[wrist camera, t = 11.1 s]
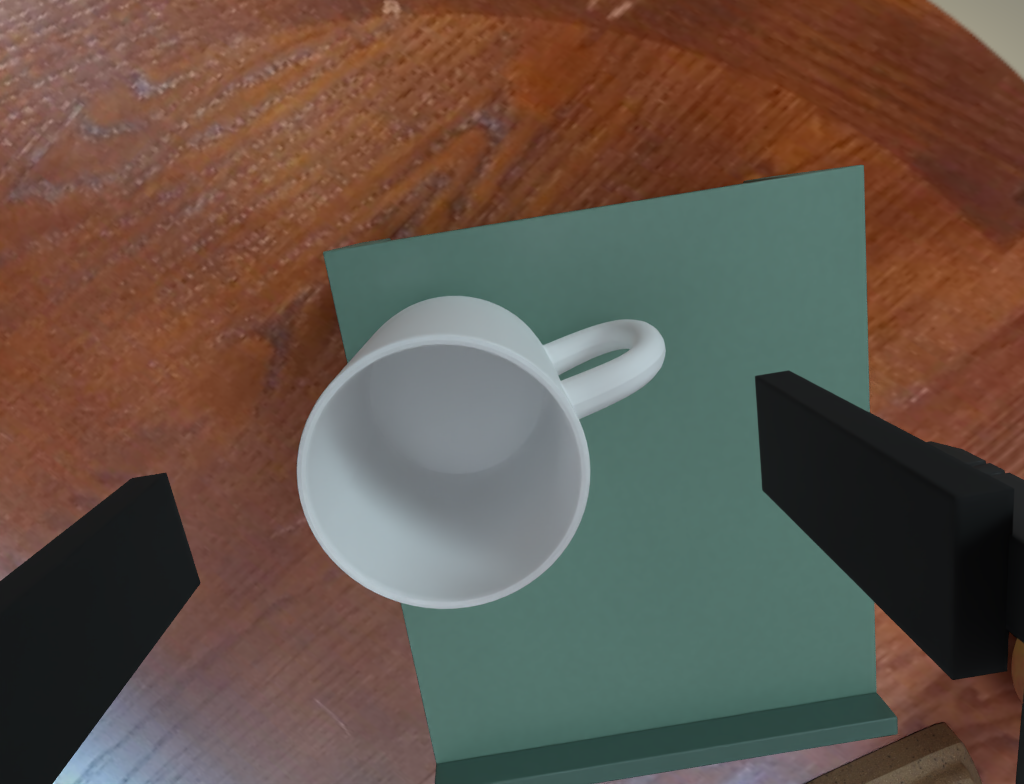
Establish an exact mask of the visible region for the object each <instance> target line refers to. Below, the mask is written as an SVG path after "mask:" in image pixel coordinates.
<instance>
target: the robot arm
mask: <svg viewBox="0 0 1024 784" xmlns="http://www.w3.org/2000/svg"><path fill="white" fill-rule="evenodd" d="M755 387H756V402H757V417H758V433H759V448H760V463H761V479H762V491H763V492H764V493H766V494H767V495H768V496H769V497H770V498H771V499H772V500H773V501H774V502H775V503H776V504H777V505H778V506H779V507H780V508H781V509H782V510H783V511H784V512H785V513H786V514H787V515H788V516H789V517H790V518H791V519H792V520H793V521H794V522H795V523H796V524H797V525H798V526H799V527H800V528H801V529H802V530H803V531H804V532H805V533H806V534H807V535H808V536H809V537H810V538H811V539H812V540H813V541H814V542H815V543H816V544H817V545H818V546H819V547H820V548H821V549H822V550H823V551H824V552H825V553H826V554H827V555H828V556H829V557H830V558H831V559H832V560H833V561H834V562H835V563H836V564H837V565H838V566H839V567H840V568H841V569H842V570H843V571H844V572H845V573H846V574H847V575H848V576H849V577H850V578H851V579H852V580H853V581H854V582H855V583H856V584H857V585H858V586H859V587H860V588H861V589H862V590H863V591H864V592H865V593H866V594H867V595H868V596H869V597H870V598H871V599H872V600H873V601H874V602H875V603H876V604H877V605H878V606H879V607H880V608H881V609H882V610H883V611H884V612H885V613H886V614H887V615H888V616H889V617H890V618H891V619H892V620H893V621H894V622H895V623H896V624H897V625H898V626H899V627H900V628H901V629H902V630H903V631H904V632H905V633H906V634H907V635H908V636H909V637H910V638H911V639H912V640H913V641H914V642H915V643H916V644H917V645H918V646H919V647H920V648H921V649H922V650H923V651H924V652H925V653H926V654H927V655H928V656H929V657H930V658H931V659H932V660H933V661H934V662H935V663H936V664H937V665H938V666H939V667H940V668H941V669H942V670H943V671H944V672H945V673H946V674H947V675H948V676H949V677H950V678H951V679H952V680H956V679H962V678H968V677H974V676H980V675H986V674H992V673H998V672H1004V671H1007V663H1008V638H1009V632H1010V633H1011V634H1013V635H1014V636H1015V637H1016V638H1018V639H1019V640H1020V641H1021V642H1023V643H1024V480H1023V479H1021V478H1019V477H1017V476H1015V475H1013V474H1011V473H1006V474H1005V471H1004V470H1003V469H1001V468H999V467H997V466H995V465H993V464H991V463H988V464H986V461H985V460H983V459H981V458H979V457H977V456H975V455H973V454H971V453H969V452H967V451H965V450H963V449H959V448H955V447H951V446H947V445H943V444H939V443H935V442H925V441H923V440H921V439H919V438H917V437H915V436H913V435H911V434H909V433H907V432H906V431H904V430H902V429H900V428H898V427H896V426H894V425H892V424H890V423H888V422H886V421H885V420H883V419H881V418H879V417H877V416H875V415H873V414H871V413H869V412H867V411H866V410H864V409H862V408H860V407H858V406H856V405H854V404H852V403H850V402H848V401H846V400H845V399H843V398H841V397H839V396H837V395H835V394H833V393H831V392H829V391H827V390H826V389H824V388H822V387H820V386H818V385H816V384H814V383H812V382H810V381H808V380H806V379H805V378H803V377H801V376H799V375H797V374H795V373H793V372H791V371H789V370H788V371H782V372H776V373H770V374H763V375H757V376H755ZM199 585H200V580H199V577H198V573H197V570H196V567H195V564H194V561H193V557H192V554H191V551H190V548H189V544H188V541H187V538H186V535H185V532H184V528H183V525H182V522H181V519H180V516H179V512H178V509H177V506H176V503H175V499H174V496H173V493H172V490H171V487H170V483H169V480H168V477H167V474H166V473H161V474H155V475H149V476H143V477H137V478H132V479H130V480H129V481H128V482H126V483H125V484H124V485H123V486H121V487H120V488H119V489H118V490H116V491H115V492H114V493H112V494H111V495H110V496H109V497H107V498H106V499H105V500H103V501H102V502H101V503H100V504H98V505H97V506H96V507H95V508H93V509H92V510H91V511H89V512H88V513H87V514H86V515H84V516H83V517H82V518H80V519H79V520H78V521H77V522H75V523H74V524H73V525H72V526H70V527H69V528H68V529H66V530H65V531H64V532H63V533H61V534H60V535H59V536H57V537H56V538H55V539H54V540H52V541H51V542H50V543H49V544H47V545H46V546H45V547H43V548H42V549H41V550H40V551H38V552H37V553H36V554H34V555H33V556H32V557H31V558H29V559H28V560H27V561H26V562H24V563H23V564H22V565H20V566H19V567H18V568H17V569H15V570H14V571H13V572H11V573H10V574H9V575H8V576H6V577H5V578H4V579H3V580H1V581H0V784H53V782H54V781H55V780H56V778H57V777H58V776H59V774H60V773H61V771H62V770H63V769H64V767H65V766H66V765H67V763H68V762H69V761H70V759H71V758H72V757H73V755H74V754H75V752H76V751H77V750H78V748H79V747H80V746H81V744H82V743H83V742H84V740H85V739H86V738H87V736H88V735H89V734H90V732H91V731H92V729H93V728H94V727H95V725H96V724H97V723H98V721H99V720H100V719H101V717H102V716H103V715H104V713H105V712H106V710H107V709H108V708H109V706H110V705H111V704H112V702H113V701H114V700H115V698H116V697H117V696H118V694H119V693H120V692H121V690H122V689H123V687H124V686H125V685H126V683H127V682H128V681H129V679H130V678H131V677H132V675H133V674H134V673H135V671H136V670H137V669H138V667H139V666H140V664H141V663H142V662H143V660H144V659H145V658H146V656H147V655H148V654H149V652H150V651H151V650H152V648H153V647H154V645H155V644H156V643H157V641H158V640H159V639H160V637H161V636H162V635H163V633H164V632H165V631H166V629H167V628H168V627H169V625H170V624H171V622H172V621H173V620H174V618H175V617H176V616H177V614H178V613H179V612H180V610H181V609H182V608H183V606H184V605H185V603H186V602H187V601H188V599H189V598H190V597H191V595H192V594H193V593H194V591H195V590H196V589H197V587H198V586H199ZM1016 784H1024V693H1023V704H1022V716H1021V727H1020V739H1019V750H1018V762H1017V774H1016Z"/></svg>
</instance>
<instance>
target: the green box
mask: <svg viewBox="0 0 1024 784" xmlns="http://www.w3.org/2000/svg"><path fill="white" fill-rule="evenodd" d="M743 183H744V184H738V185H731V186H725V187H719V188H713V189H707V190H700V191H694V192H688V193H682V194H676V195H669V196H663V197H657V198H651V199H645V200H638V201H632V202H626V203H620V204H614V205H607V206H601V207H595V208H589V209H583V210H576V211H570V212H564V213H558V214H552V215H545V216H539V217H533V218H527V219H521V220H514V221H508V222H502V223H496V224H490V225H483V226H477V227H471V228H465V229H459V230H452V231H446V232H440V233H434V234H428V235H421V236H415V237H409V238H403V239H397V240H391V239H390V238H387V239H381V240H375V241H369V242H363V243H358V244H354V245H350V246H346V247H342V248H337V249H333V250H329V251H325V252H323V255H324V260H325V264H326V269H327V273H328V278H329V282H330V287H331V291H332V296H333V300H334V305H335V309H336V314H337V318H338V323H339V327H340V332H341V336H342V341H343V345H344V350H345V354H346V359H347V363H349V362H350V360H351V359H352V358H353V357H354V356H355V355H356V354H357V353H358V351H359V350H360V349H361V348H362V347H363V346H364V345H365V344H366V342H367V341H368V340H369V339H370V338H371V337H372V336H373V335H374V333H375V332H376V331H377V330H378V329H379V328H380V327H381V326H382V325H383V324H384V323H386V322H387V321H388V320H389V319H390V318H391V317H393V316H394V315H396V314H397V313H399V312H400V311H402V310H404V309H405V308H407V307H409V306H411V305H413V304H416V303H418V302H421V301H424V300H427V299H431V298H436V297H443V296H466V297H473V298H478V299H482V300H486V301H489V302H491V303H494V304H496V305H499V306H501V307H503V308H504V309H506V310H508V311H510V312H511V313H513V314H514V315H516V316H517V317H518V318H519V319H521V320H522V321H523V322H524V323H525V324H526V325H527V326H528V327H529V328H530V329H531V330H532V331H533V333H534V334H535V335H536V336H537V338H538V339H539V340H540V342H541V343H542V345H545V344H547V343H550V342H552V341H555V340H557V339H560V338H562V337H564V336H567V335H569V334H572V333H575V332H577V331H580V330H583V329H586V328H588V327H591V326H595V325H598V324H601V323H605V322H609V321H615V320H622V319H631V320H639V321H644V322H646V323H648V324H650V325H652V326H653V327H655V328H656V329H657V330H658V331H659V333H660V334H661V336H662V337H663V339H664V343H665V349H666V352H665V358H664V362H663V365H662V367H661V368H660V370H659V371H658V372H657V374H656V375H655V376H654V377H653V378H652V379H651V380H650V381H649V382H648V383H647V384H646V385H645V386H643V387H642V388H641V389H639V390H638V391H636V392H634V393H633V394H631V395H629V396H628V397H626V398H624V399H622V400H620V401H618V402H616V403H614V404H612V405H610V406H608V407H606V408H603V409H601V410H599V411H597V412H595V413H593V414H590V415H588V416H586V417H583V418H581V419H579V421H580V423H581V426H582V428H583V431H584V434H585V438H586V441H587V446H588V451H589V457H590V487H589V494H588V499H587V503H586V507H585V511H584V514H583V516H582V519H581V522H580V524H579V526H578V528H577V530H576V532H575V534H574V536H573V538H572V539H571V541H570V543H569V544H568V546H567V547H566V549H565V550H564V551H563V553H562V554H561V555H560V556H559V558H558V559H557V560H556V561H555V562H554V563H553V564H552V565H551V566H550V567H549V568H548V569H547V570H546V571H545V572H544V573H542V574H541V575H540V576H539V577H537V578H536V579H535V580H533V581H532V582H531V583H529V584H528V585H526V586H524V587H523V588H521V589H519V590H518V591H516V592H514V593H512V594H510V595H508V596H505V597H503V598H500V599H498V600H495V601H492V602H488V603H485V604H481V605H476V606H471V607H465V608H456V609H435V608H424V607H418V606H412V605H408V604H404V603H401V606H402V611H403V615H404V620H405V624H406V629H407V633H408V638H409V642H410V647H411V651H412V656H413V660H414V665H415V669H416V674H417V678H418V683H419V687H420V692H421V696H422V701H423V705H424V710H425V714H426V719H427V724H428V728H429V733H430V737H431V742H432V746H433V751H434V755H435V760H436V764H437V765H436V775H435V784H594V783H601V782H607V781H613V780H619V779H625V778H631V777H638V776H644V775H650V774H656V773H662V772H668V771H674V770H681V769H687V768H693V767H699V766H705V765H711V764H718V763H724V762H730V761H736V760H742V759H748V758H754V757H761V756H767V755H773V754H779V753H785V752H791V751H798V750H804V749H810V748H816V747H822V746H828V745H834V744H841V743H847V742H853V741H859V740H865V739H871V738H878V737H884V736H890V735H896V734H897V733H898V731H897V717H896V715H895V714H894V713H893V712H892V711H891V709H890V708H889V707H888V706H887V704H886V703H885V702H884V701H883V700H882V698H881V697H880V696H879V695H878V694H877V693H876V655H875V614H874V601H873V600H872V599H871V598H870V597H869V596H868V595H867V594H866V593H865V592H864V591H863V590H862V589H861V588H860V587H859V586H858V585H857V584H856V583H855V582H854V581H853V580H852V579H851V578H850V577H849V576H848V575H847V574H846V573H845V572H844V571H843V570H842V569H841V568H840V567H839V566H838V565H837V564H836V563H835V562H834V561H833V560H832V559H831V558H830V557H829V556H828V555H827V554H826V553H825V552H824V551H823V550H822V549H821V548H820V547H819V546H818V545H817V544H816V543H815V542H814V541H813V540H812V539H811V538H810V537H809V536H808V535H807V534H806V533H805V532H804V531H803V530H802V529H801V528H800V527H799V526H798V525H797V524H796V523H795V522H794V521H793V520H792V519H791V518H790V517H789V516H788V515H787V514H786V513H785V512H784V511H783V510H782V509H781V508H780V507H779V506H778V505H777V504H776V503H775V502H774V501H773V500H772V499H771V498H770V497H769V496H768V495H767V494H766V493H764V492H763V491H762V479H761V463H760V448H759V433H758V417H757V402H756V387H755V376H757V375H763V374H770V373H776V372H782V371H788V370H789V371H791V372H793V373H795V374H797V375H799V376H801V377H803V378H805V379H806V380H808V381H810V382H812V383H814V384H816V385H818V386H820V387H822V388H824V389H826V390H827V391H829V392H831V393H833V394H835V395H837V396H839V397H841V398H843V399H845V400H846V401H848V402H850V403H852V404H854V405H856V406H858V407H860V408H862V409H864V410H866V411H867V412H869V413H870V407H869V365H868V324H867V282H866V241H865V199H864V166H863V165H857V166H849V167H842V168H834V169H826V170H818V171H810V172H803V173H795V174H787V175H779V176H772V177H765V178H759V179H753V180H747V181H744V182H743ZM629 350H630V349H620V350H615V351H611V352H608V353H605V354H602V355H600V356H597V357H595V358H592V359H590V360H588V361H586V362H584V363H582V364H580V365H578V366H576V367H574V368H572V369H570V370H568V371H566V372H564V373H562V374H560V375H559V378H560V380H561V381H562V380H564V379H567V378H569V377H572V376H574V375H577V374H579V373H582V372H584V371H587V370H590V369H592V368H594V367H597V366H599V365H602V364H604V363H606V362H609V361H611V360H613V359H615V358H617V357H619V356H621V355H623V354H624V353H626V352H627V351H629Z"/></svg>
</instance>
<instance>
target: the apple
mask: <svg viewBox="0 0 1024 784" xmlns="http://www.w3.org/2000/svg"><path fill="white" fill-rule="evenodd" d="M1011 672H1012V680H1013V684H1014V687H1015V690H1016V693H1017V695H1018V697H1019V699H1020V701H1021V703H1022V704H1023V693H1024V643H1023V642H1021V641H1020V640H1019V639H1018V638H1017V640H1016V643H1015V646H1014V650H1013V656H1012V664H1011Z"/></svg>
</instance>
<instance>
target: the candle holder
mask: <svg viewBox="0 0 1024 784" xmlns="http://www.w3.org/2000/svg"><path fill="white" fill-rule="evenodd" d="M807 784H982V782H981V779H980V777H979V775H978V772H977V770H976V767H975V765H974V763H973V761H972V759H971V757H970V755H969V753H968V751H967V749H966V748H965V746H964V744H963V743H962V742H961V741H960V740H959V738H958V737H957V736H956V735H955V734H954V733H953V732H952V730H951V729H950V728H949V727H948V726H947V725H946V724H945V723H941V724H937V725H934V726H932V727H929V728H927V729H924V730H922V731H919V732H917V733H915V734H913V735H910V736H908V737H906V738H904V739H902V740H899V741H897V742H895V743H893V744H891V745H888V746H886V747H884V748H882V749H880V750H877V751H875V752H873V753H871V754H869V755H866V756H864V757H862V758H860V759H858V760H855V761H853V762H851V763H849V764H847V765H844V766H842V767H840V768H838V769H836V770H833V771H831V772H829V773H827V774H825V775H823V776H820V777H818V778H816V779H814V780H813V781H811V782H809V783H807Z"/></svg>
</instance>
